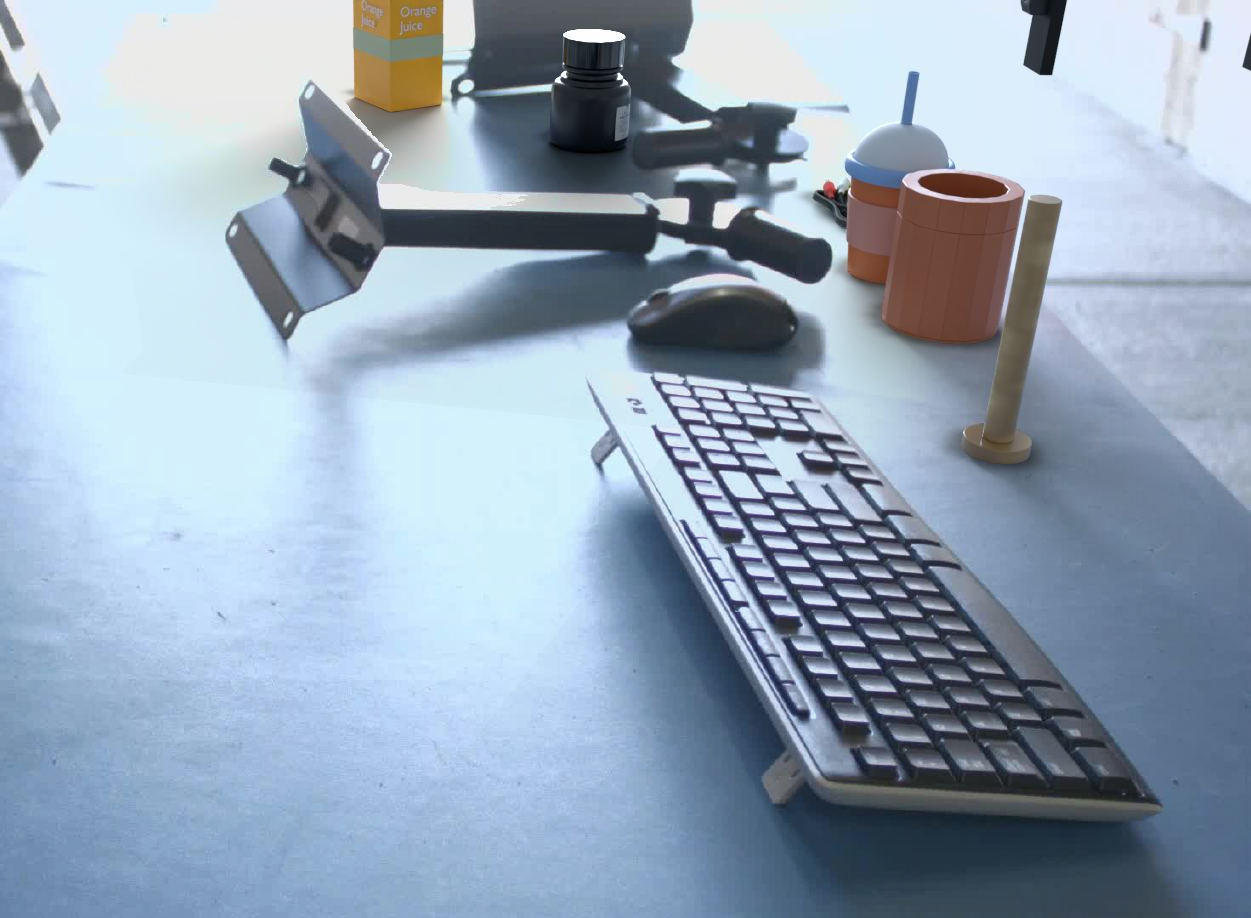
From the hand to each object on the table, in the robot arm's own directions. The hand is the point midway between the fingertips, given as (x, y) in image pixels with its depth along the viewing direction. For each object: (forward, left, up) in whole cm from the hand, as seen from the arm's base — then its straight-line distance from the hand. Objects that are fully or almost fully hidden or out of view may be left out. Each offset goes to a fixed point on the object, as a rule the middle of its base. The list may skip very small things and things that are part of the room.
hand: (1148, 72), depth 92 cm
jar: (+12, -19, -26) cm, 34 cm away
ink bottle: (+57, -58, -26) cm, 85 cm away
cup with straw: (+18, -29, -26) cm, 43 cm away
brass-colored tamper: (+4, +3, -26) cm, 26 cm away
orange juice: (+85, -65, -26) cm, 110 cm away
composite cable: (+26, -46, -26) cm, 59 cm away
